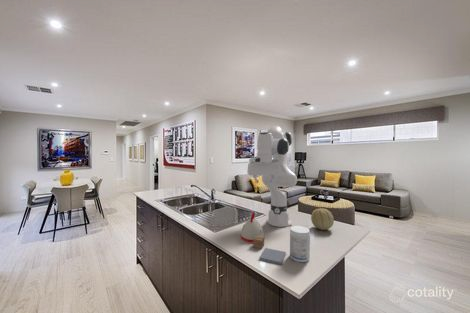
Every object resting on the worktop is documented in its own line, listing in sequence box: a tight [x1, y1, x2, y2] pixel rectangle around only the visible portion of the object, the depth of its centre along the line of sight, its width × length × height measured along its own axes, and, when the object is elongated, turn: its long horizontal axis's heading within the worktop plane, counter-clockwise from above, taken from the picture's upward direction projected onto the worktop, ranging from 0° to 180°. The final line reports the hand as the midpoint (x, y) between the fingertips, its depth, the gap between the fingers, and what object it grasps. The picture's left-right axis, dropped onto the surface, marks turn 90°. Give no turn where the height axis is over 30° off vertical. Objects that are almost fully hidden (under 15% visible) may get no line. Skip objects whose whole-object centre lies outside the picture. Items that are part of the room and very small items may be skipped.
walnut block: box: [252, 236, 265, 250], centre depth 113 cm, size 5×5×5 cm
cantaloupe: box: [310, 206, 335, 231], centre depth 141 cm, size 15×15×15 cm
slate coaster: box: [259, 247, 287, 266], centre depth 102 cm, size 11×11×1 cm
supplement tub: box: [289, 225, 311, 263], centre depth 101 cm, size 10×10×15 cm
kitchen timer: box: [240, 212, 265, 244], centre depth 125 cm, size 14×14×15 cm
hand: (264, 182), depth 118 cm, fingers open, 8 cm apart
